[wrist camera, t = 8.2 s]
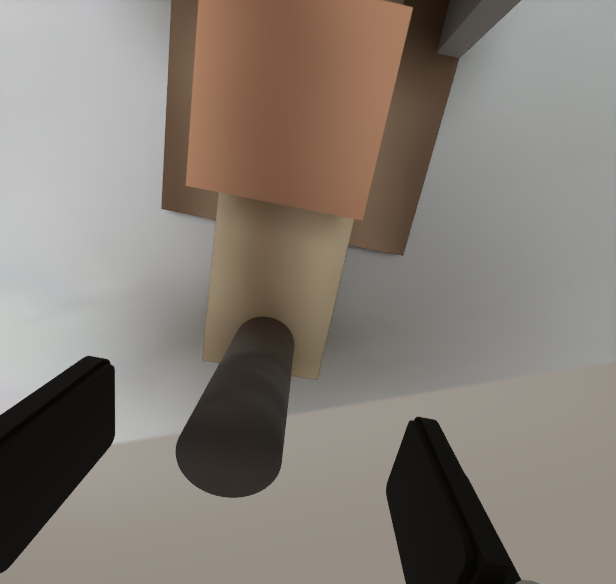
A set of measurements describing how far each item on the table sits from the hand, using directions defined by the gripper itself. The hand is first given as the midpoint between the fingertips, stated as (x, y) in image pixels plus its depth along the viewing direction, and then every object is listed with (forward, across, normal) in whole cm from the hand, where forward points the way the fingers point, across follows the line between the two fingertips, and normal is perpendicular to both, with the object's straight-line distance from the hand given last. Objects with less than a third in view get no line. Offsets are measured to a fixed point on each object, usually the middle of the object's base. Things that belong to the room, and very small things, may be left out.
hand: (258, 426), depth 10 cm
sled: (+7, +1, -9) cm, 12 cm away
